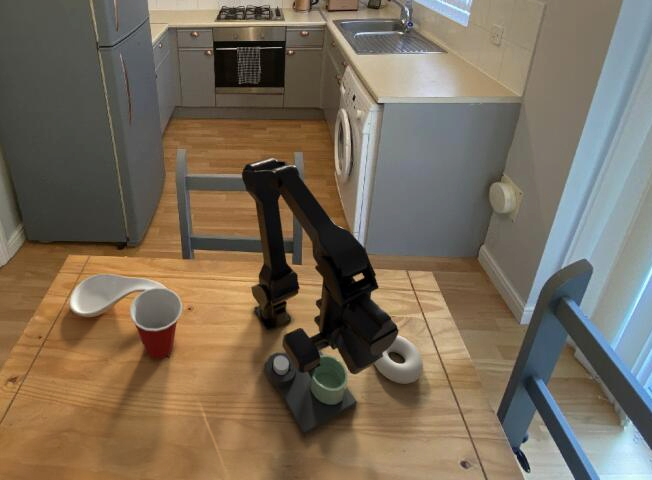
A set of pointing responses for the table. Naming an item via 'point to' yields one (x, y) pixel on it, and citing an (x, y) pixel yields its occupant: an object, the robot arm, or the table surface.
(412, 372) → the donut
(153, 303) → the plastic cup
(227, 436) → the table surface
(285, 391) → the scale
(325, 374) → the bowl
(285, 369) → the button
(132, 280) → the spoon rest
